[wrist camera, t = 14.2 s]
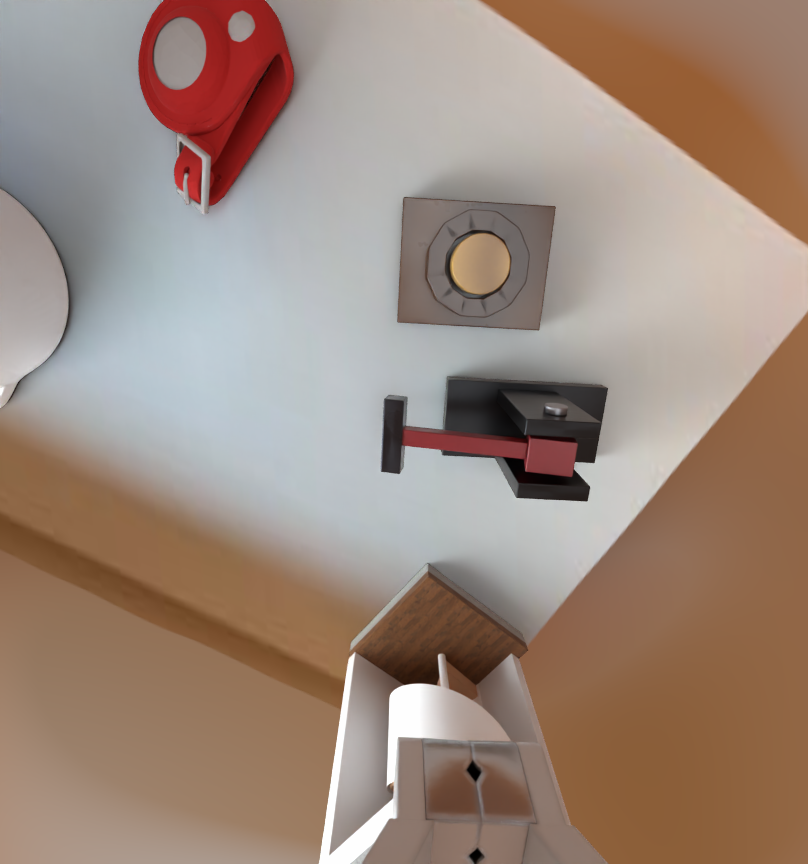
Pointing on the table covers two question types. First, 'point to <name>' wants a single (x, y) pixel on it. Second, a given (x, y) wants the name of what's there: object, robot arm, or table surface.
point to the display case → (421, 700)
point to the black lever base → (529, 425)
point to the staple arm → (471, 444)
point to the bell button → (480, 264)
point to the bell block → (431, 252)
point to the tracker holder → (214, 86)
